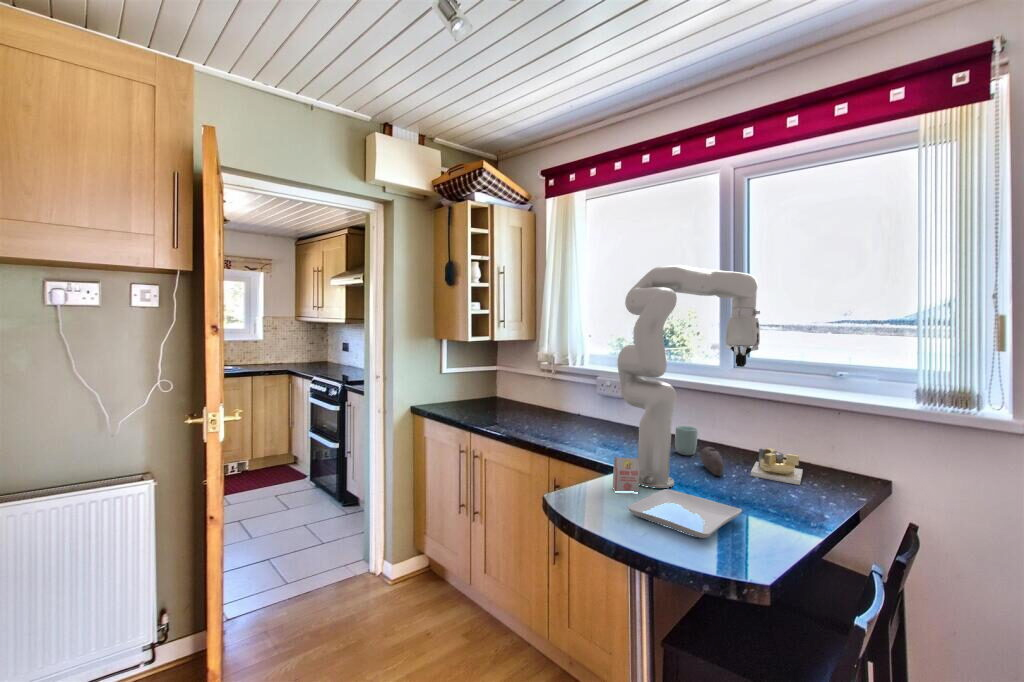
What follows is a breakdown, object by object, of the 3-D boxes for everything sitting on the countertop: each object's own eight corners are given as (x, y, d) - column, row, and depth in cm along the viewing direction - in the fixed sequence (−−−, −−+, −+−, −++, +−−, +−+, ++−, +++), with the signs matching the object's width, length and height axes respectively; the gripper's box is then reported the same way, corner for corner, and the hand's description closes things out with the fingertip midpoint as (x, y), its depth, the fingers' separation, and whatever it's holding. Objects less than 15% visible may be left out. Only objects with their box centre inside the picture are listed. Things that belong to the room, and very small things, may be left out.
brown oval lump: (727, 479, 155) (728, 458, 155) (710, 478, 156) (711, 457, 155) (715, 465, 170) (716, 446, 169) (699, 464, 170) (700, 445, 170)
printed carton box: (612, 488, 143) (613, 455, 143) (635, 489, 143) (637, 456, 142) (614, 493, 139) (616, 459, 139) (638, 494, 139) (639, 460, 139)
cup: (699, 457, 179) (700, 430, 179) (678, 456, 179) (679, 430, 179) (692, 451, 187) (693, 426, 186) (671, 451, 187) (673, 425, 187)
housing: (800, 485, 151) (801, 463, 151) (750, 475, 159) (751, 454, 159) (802, 473, 163) (803, 453, 163) (756, 465, 171) (757, 446, 170)
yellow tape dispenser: (802, 471, 160) (803, 454, 159) (789, 477, 153) (790, 460, 152) (767, 462, 168) (768, 447, 168) (753, 468, 161) (753, 452, 161)
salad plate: (624, 518, 123) (624, 505, 122) (665, 498, 138) (665, 486, 137) (707, 549, 108) (707, 533, 107) (743, 522, 123) (743, 509, 122)
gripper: (770, 314, 165) (767, 367, 166) (725, 313, 175) (723, 364, 176) (762, 313, 159) (759, 369, 160) (717, 312, 170) (714, 365, 171)
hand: (740, 366), depth 168 cm, fingers closed
